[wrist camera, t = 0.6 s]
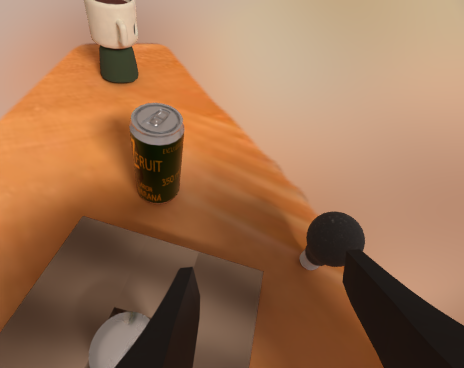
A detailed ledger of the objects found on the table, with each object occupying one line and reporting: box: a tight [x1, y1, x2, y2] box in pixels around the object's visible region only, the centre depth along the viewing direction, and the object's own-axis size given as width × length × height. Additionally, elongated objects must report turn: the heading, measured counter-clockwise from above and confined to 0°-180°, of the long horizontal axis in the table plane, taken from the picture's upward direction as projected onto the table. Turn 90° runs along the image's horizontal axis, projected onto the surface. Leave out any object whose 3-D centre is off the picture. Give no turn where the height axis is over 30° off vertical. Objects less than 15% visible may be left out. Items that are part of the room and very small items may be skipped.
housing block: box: [0, 216, 263, 368], centre depth 23 cm, size 20×20×3 cm
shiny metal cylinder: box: [89, 312, 150, 368], centre depth 21 cm, size 4×4×7 cm
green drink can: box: [129, 103, 184, 204], centre depth 30 cm, size 5×5×12 cm
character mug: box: [84, 0, 138, 83], centre depth 43 cm, size 11×7×13 cm, turn 33°
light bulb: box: [300, 212, 365, 270], centre depth 29 cm, size 6×6×10 cm
